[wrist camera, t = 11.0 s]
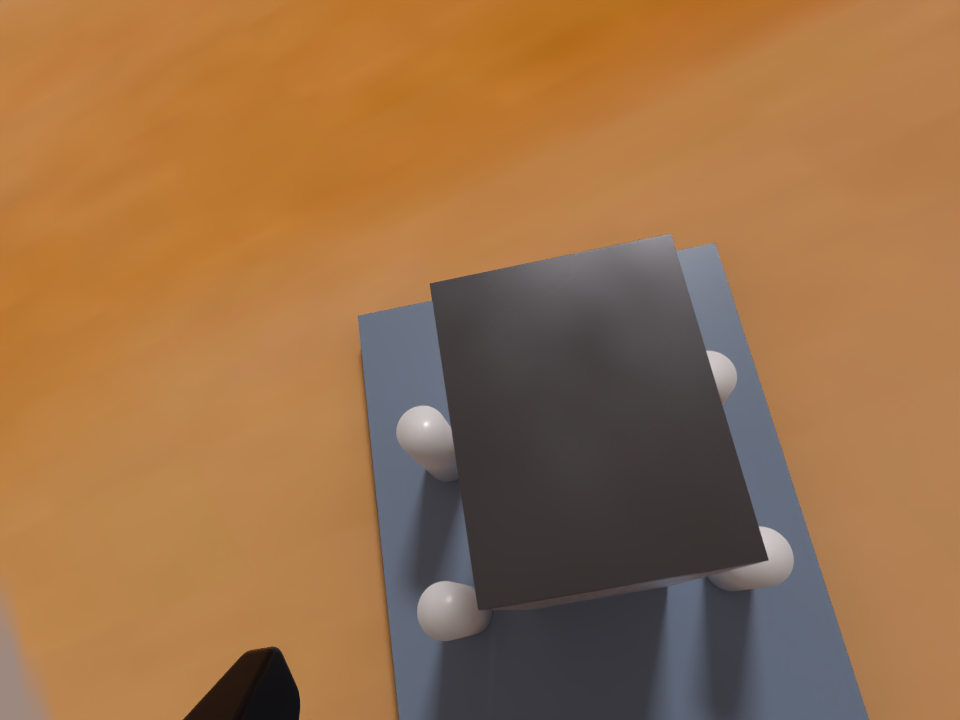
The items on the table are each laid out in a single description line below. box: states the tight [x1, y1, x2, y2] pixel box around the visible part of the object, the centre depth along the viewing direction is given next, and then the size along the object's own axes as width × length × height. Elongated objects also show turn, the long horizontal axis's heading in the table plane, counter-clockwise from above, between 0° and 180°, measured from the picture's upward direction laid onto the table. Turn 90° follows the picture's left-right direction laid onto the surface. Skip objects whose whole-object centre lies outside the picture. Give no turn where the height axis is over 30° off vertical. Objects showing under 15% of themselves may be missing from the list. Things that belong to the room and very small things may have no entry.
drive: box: [430, 234, 769, 610], centre depth 14 cm, size 4×4×10 cm
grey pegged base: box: [358, 243, 869, 720], centre depth 17 cm, size 14×11×4 cm
